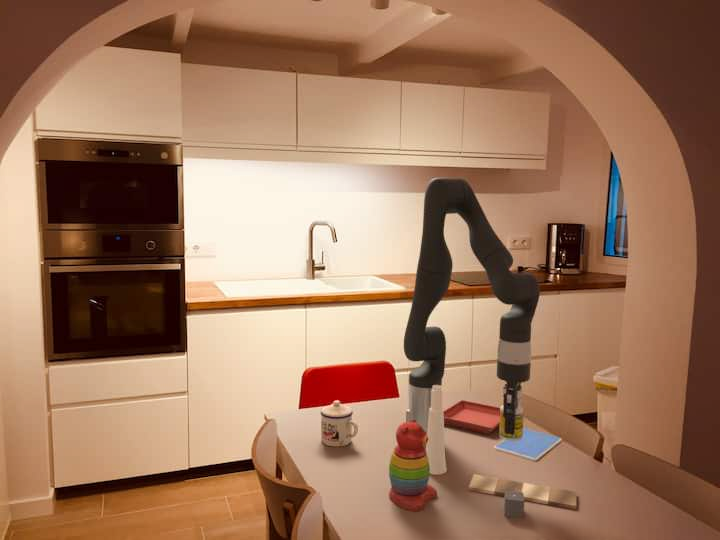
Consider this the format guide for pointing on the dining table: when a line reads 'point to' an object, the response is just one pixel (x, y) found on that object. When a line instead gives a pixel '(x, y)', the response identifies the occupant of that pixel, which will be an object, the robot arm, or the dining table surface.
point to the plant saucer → (473, 416)
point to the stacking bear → (410, 468)
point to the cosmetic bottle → (436, 433)
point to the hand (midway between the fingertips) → (510, 428)
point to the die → (514, 504)
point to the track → (524, 491)
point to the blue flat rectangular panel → (529, 445)
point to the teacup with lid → (337, 425)
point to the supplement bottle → (518, 424)
